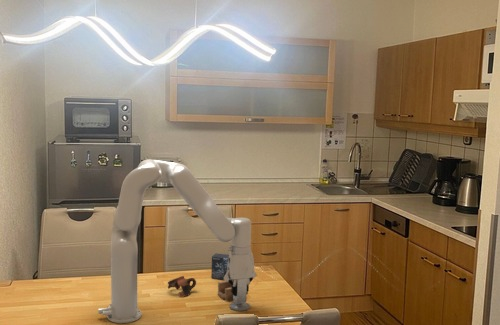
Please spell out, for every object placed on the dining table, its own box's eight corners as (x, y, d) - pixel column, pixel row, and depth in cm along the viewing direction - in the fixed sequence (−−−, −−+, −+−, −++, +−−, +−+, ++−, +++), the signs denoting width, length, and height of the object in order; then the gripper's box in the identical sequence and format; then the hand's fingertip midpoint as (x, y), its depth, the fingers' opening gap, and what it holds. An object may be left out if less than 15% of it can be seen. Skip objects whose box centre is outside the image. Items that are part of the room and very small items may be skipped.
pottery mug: (174, 300, 214) (167, 281, 216) (171, 302, 223) (164, 284, 225) (201, 289, 219) (194, 271, 221) (197, 291, 227) (190, 273, 229)
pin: (237, 303, 205) (238, 275, 203) (232, 299, 209) (233, 272, 208) (246, 302, 206) (247, 274, 205) (242, 297, 211) (242, 270, 209)
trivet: (234, 312, 203) (234, 310, 203) (226, 304, 210) (226, 302, 210) (252, 309, 206) (253, 307, 206) (244, 302, 213) (245, 300, 213)
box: (211, 278, 239) (211, 256, 238) (215, 274, 245) (215, 252, 243) (227, 280, 237) (227, 258, 236) (231, 276, 242) (231, 254, 241)
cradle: (224, 301, 213) (224, 289, 213) (216, 293, 222) (216, 282, 221) (245, 298, 217) (245, 286, 216) (237, 290, 225) (237, 279, 225)
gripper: (224, 254, 198) (223, 300, 201) (264, 250, 205) (263, 294, 207) (217, 248, 205) (216, 293, 207) (256, 244, 212) (255, 288, 214)
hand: (239, 293), depth 207 cm, fingers closed on pin, 4 cm apart
